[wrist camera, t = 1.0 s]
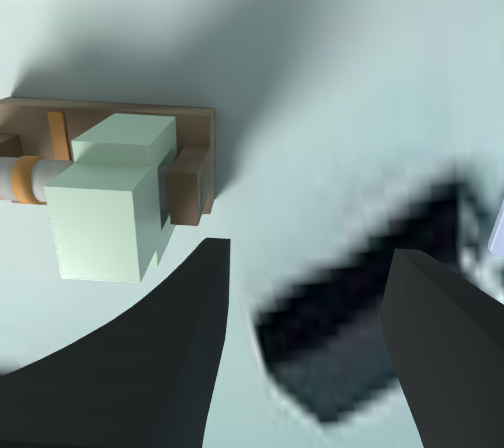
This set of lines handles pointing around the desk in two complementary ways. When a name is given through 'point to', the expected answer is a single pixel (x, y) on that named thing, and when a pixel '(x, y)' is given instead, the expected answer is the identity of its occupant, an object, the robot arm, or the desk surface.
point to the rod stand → (81, 120)
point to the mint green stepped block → (113, 199)
